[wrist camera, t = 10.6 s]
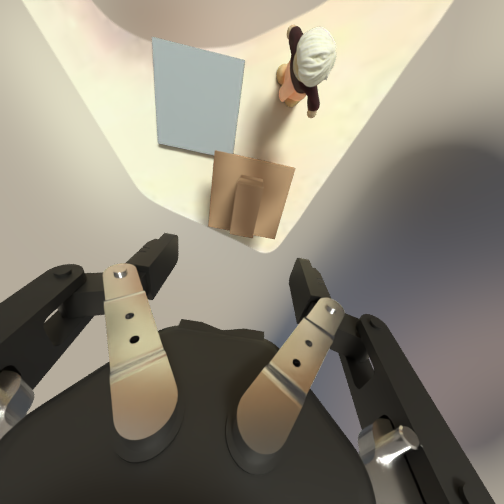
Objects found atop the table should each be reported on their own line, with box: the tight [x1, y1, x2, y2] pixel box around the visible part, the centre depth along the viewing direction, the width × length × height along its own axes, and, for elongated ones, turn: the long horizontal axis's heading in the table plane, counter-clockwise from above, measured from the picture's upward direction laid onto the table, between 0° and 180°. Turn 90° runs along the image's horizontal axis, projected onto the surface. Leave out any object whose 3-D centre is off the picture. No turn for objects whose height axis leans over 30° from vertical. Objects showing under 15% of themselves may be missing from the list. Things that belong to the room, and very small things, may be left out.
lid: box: [208, 150, 295, 239], centre depth 24 cm, size 10×10×6 cm
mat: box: [152, 37, 245, 155], centre depth 26 cm, size 11×11×1 cm
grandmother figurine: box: [277, 25, 336, 118], centre depth 19 cm, size 8×4×13 cm, turn 36°
